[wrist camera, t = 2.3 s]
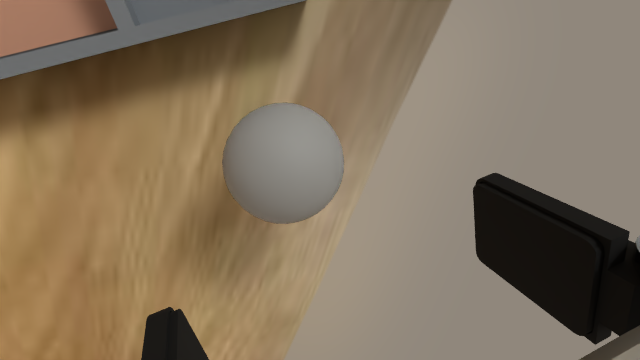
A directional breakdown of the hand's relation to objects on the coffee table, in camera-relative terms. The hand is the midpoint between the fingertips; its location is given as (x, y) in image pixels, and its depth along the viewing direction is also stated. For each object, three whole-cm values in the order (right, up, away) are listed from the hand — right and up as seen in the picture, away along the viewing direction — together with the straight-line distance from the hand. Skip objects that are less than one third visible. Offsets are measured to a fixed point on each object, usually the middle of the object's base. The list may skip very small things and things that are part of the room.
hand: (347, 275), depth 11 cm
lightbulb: (-5, +7, +15) cm, 17 cm away
